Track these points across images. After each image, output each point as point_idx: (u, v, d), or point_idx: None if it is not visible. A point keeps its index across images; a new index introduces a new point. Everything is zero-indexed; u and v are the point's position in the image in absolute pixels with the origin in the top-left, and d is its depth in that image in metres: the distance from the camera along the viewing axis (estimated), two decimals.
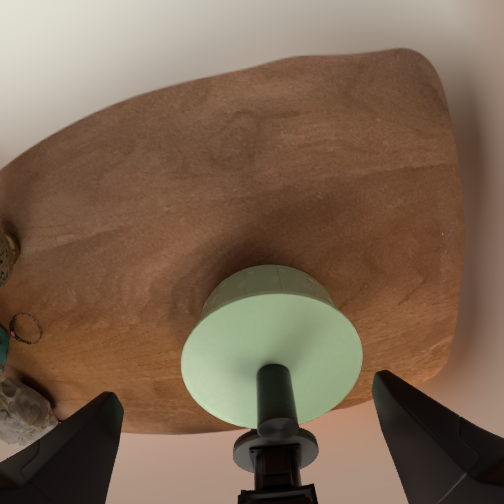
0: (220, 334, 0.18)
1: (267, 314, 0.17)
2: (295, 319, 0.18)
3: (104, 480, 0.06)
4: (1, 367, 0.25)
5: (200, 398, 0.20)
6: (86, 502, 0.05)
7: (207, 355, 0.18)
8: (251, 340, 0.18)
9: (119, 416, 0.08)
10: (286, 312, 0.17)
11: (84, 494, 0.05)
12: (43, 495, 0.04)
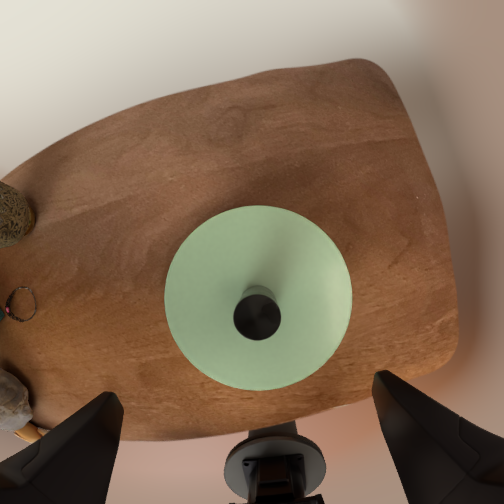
0: (205, 249, 0.19)
1: (248, 226, 0.19)
2: (275, 231, 0.19)
3: (104, 480, 0.06)
4: None
5: (181, 338, 0.19)
6: (86, 502, 0.05)
7: (191, 276, 0.19)
8: (234, 256, 0.19)
9: (119, 416, 0.08)
10: (265, 223, 0.19)
11: (84, 494, 0.05)
12: (43, 495, 0.04)
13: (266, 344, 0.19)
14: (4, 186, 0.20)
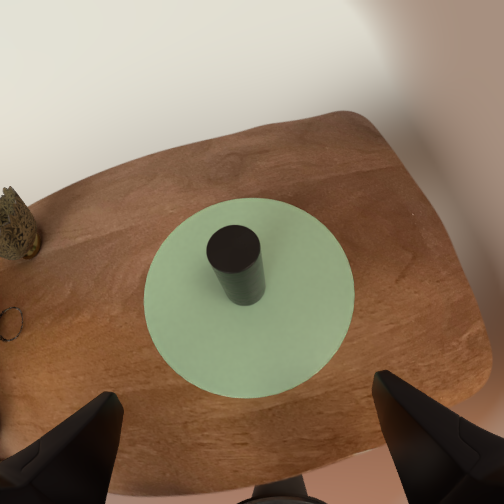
0: (192, 237, 0.19)
1: (236, 215, 0.19)
2: (263, 218, 0.19)
3: (104, 480, 0.06)
4: None
5: (156, 328, 0.16)
6: (86, 502, 0.05)
7: (176, 262, 0.18)
8: None
9: (119, 416, 0.08)
10: (253, 212, 0.19)
11: (84, 494, 0.05)
12: (43, 495, 0.04)
13: (254, 335, 0.16)
14: (19, 197, 0.23)
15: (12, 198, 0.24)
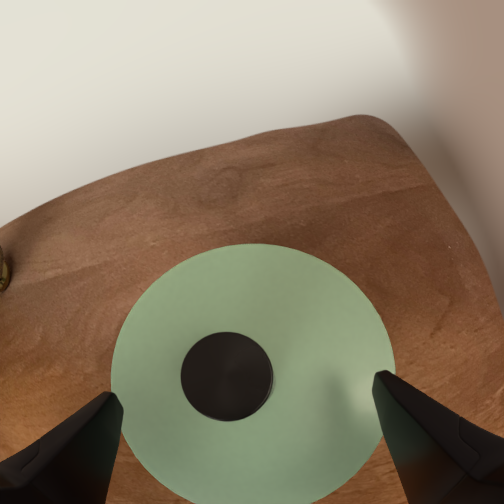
0: (171, 302, 0.13)
1: (233, 270, 0.14)
2: (271, 276, 0.13)
3: (104, 480, 0.06)
4: None
5: (129, 427, 0.10)
6: (86, 502, 0.05)
7: (149, 338, 0.12)
8: (211, 311, 0.13)
9: (119, 416, 0.08)
10: (257, 266, 0.14)
11: (84, 494, 0.05)
12: (43, 495, 0.04)
13: (260, 447, 0.10)
14: None
15: None
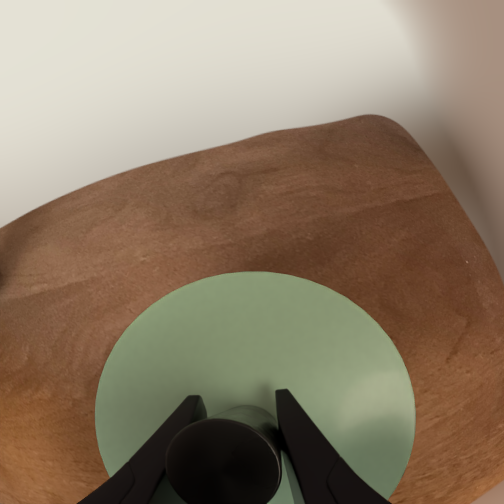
0: (158, 341, 0.11)
1: (231, 305, 0.11)
2: (276, 312, 0.11)
3: None
4: None
5: None
6: None
7: (135, 382, 0.10)
8: (205, 354, 0.10)
9: None
10: (260, 300, 0.11)
11: None
12: None
13: None
14: None
15: None
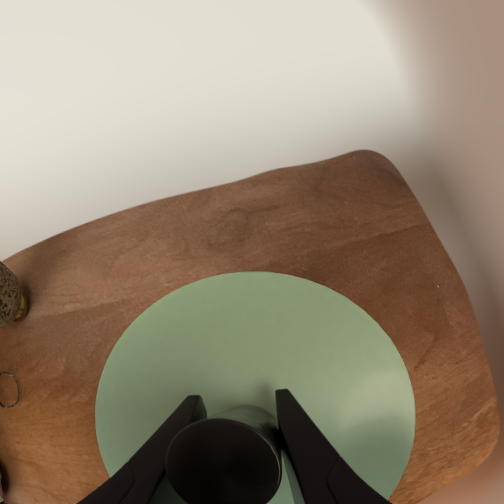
0: (158, 341, 0.11)
1: (231, 305, 0.11)
2: (276, 312, 0.11)
3: None
4: None
5: None
6: None
7: (135, 382, 0.10)
8: (205, 354, 0.10)
9: None
10: (260, 300, 0.11)
11: None
12: None
13: None
14: None
15: None
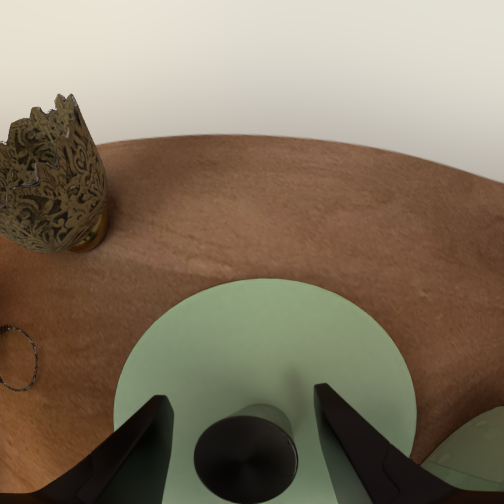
0: (176, 344, 0.12)
1: (245, 310, 0.12)
2: (288, 317, 0.12)
3: (159, 490, 0.06)
4: None
5: None
6: None
7: (153, 383, 0.11)
8: (221, 356, 0.11)
9: (171, 420, 0.08)
10: (273, 305, 0.12)
11: None
12: None
13: None
14: (84, 125, 0.11)
15: None
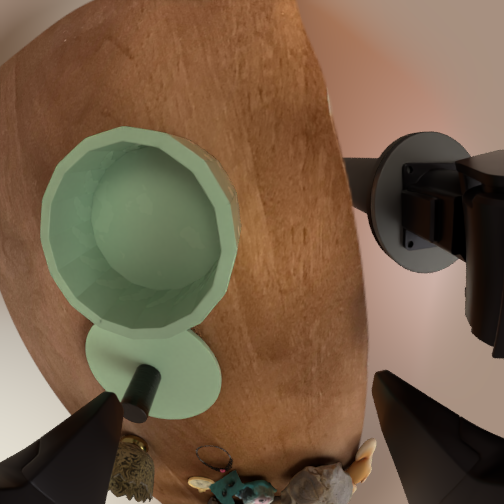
0: None
1: (112, 386, 0.24)
2: (105, 373, 0.23)
3: (104, 480, 0.06)
4: (270, 490, 0.28)
5: (201, 407, 0.24)
6: (85, 502, 0.05)
7: (159, 408, 0.24)
8: None
9: (119, 416, 0.08)
10: (105, 378, 0.23)
11: (84, 494, 0.05)
12: (43, 495, 0.04)
13: (172, 362, 0.22)
14: None
15: None
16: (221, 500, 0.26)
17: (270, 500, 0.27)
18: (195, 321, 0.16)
